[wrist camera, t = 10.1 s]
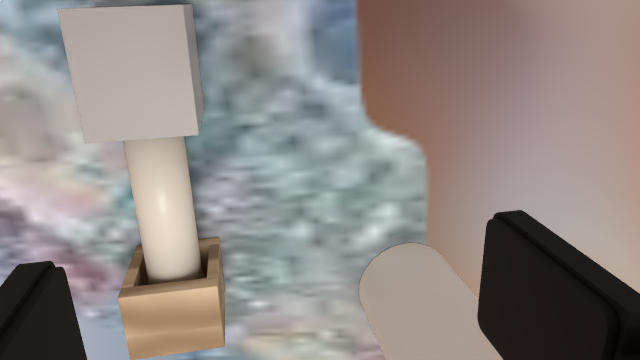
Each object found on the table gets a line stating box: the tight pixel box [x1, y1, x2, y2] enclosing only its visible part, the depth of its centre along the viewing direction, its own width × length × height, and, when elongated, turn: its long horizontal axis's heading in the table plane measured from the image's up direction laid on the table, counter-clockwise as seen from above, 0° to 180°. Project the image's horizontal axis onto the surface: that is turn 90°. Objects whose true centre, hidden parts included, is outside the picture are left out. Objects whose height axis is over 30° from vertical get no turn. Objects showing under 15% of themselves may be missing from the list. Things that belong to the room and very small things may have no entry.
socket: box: [118, 237, 225, 360], centre depth 40 cm, size 6×7×8 cm
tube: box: [123, 136, 206, 285], centre depth 37 cm, size 15×5×5 cm, turn 2°
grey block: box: [57, 4, 204, 143], centre depth 33 cm, size 8×7×8 cm
